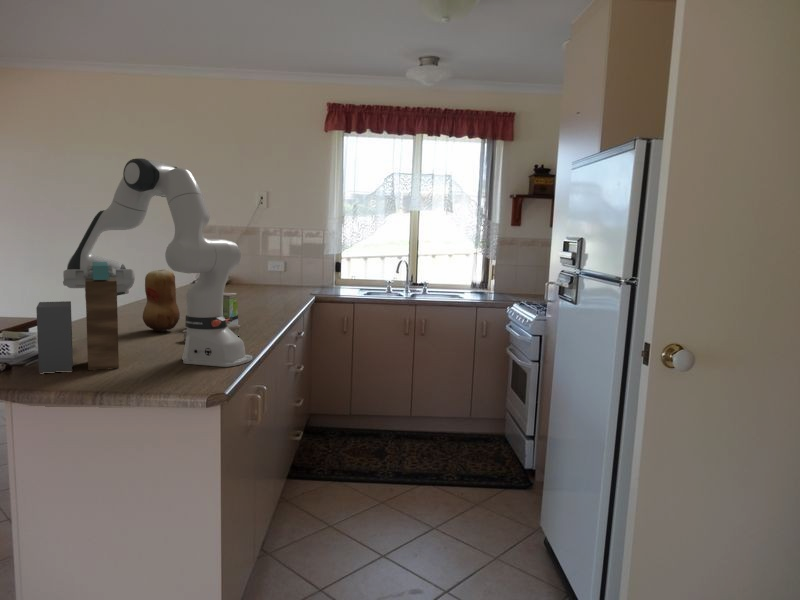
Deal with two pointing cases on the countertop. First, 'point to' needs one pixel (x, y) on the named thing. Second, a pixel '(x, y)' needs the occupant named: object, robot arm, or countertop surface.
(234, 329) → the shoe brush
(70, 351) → the upright gray pillar
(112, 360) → the tall stand
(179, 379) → the countertop surface
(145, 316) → the butternut squash
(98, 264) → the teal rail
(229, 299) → the tea box
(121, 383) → the countertop surface
